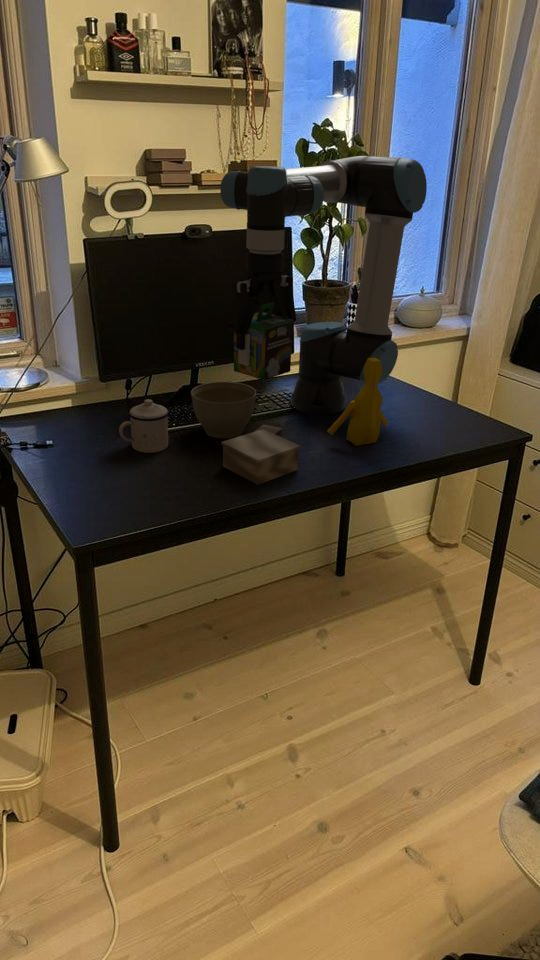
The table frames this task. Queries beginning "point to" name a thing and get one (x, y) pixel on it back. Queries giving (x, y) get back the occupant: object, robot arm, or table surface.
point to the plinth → (260, 456)
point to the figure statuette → (364, 408)
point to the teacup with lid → (147, 427)
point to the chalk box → (267, 345)
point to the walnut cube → (271, 429)
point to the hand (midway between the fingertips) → (262, 359)
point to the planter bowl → (223, 407)
